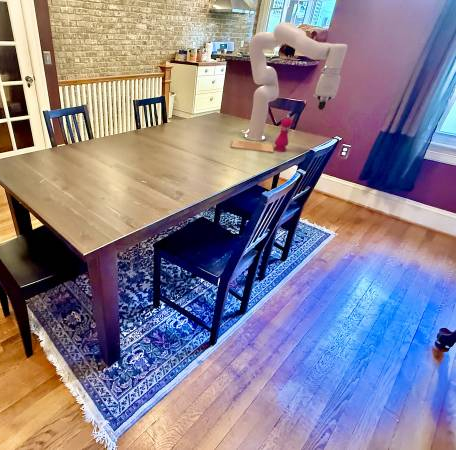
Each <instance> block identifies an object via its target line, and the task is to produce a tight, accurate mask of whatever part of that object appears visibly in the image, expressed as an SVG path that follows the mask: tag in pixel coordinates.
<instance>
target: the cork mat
mask: <svg viewBox="0 0 456 450" xmlns="http://www.w3.org/2000/svg"><path fill="white" fill-rule="evenodd" d="M231 148H232V149H240V150H247V151H248V150H249V151H256V152H265V153H272V154H273V153H274V145H273V144H270V143H263V142H262V143H261V142H253V141H243V140H236V139H233V140H232V144H231Z"/></svg>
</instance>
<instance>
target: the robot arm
mask: <svg viewBox="0 0 456 450" xmlns="http://www.w3.org/2000/svg"><path fill="white" fill-rule="evenodd" d="M281 45H287V46H289V47H291V48H293V49H294V50H295V51H297V52H298V53H299V54H301V55H303V56H304V57H306V58H308V59H311V60H314V61H318V60H321V61H322V60H326V61H325V65H324V67H323V68H321V69H320V72H321V74H320V76H319V78H318V81H317V84H316V87H315V90H314V93H313V98H316V99H317V100H318V101H319V102H318V105H317V108H318V110H319V111H323V110H324V109H325V107H326V103H328V101H330V100H335V99H336V96H337V94H338V91H339V88H340V83H341V78H342V77H341V75H340V73H341V70H342V67H343V63H344V60H345V58H346V57H345V56H346V54H347V51H348V44H346V43H331V42H320V41H317V40H315V39H312V38H311V37H309V36H307V31H305V30H304V29H301V28H299V27H297V25H296V24H295V23H293V22H290V21H289V22H288V21H287V22H286V21H281V22H279V23H278V24H277V25H276V26H275V27H274V30H273V31H271V32H270V31H268V32H267V31H261V32H257V33H256V34H255V35H253V37H251V40H250V41H249V44H248V55H249V59H250V65H251V73H252V79H253V82H254V84H256V85H262V86H259V87H258V88H257V89H256V90H255V91H254V93H253V104H252V110H251V115H250V121H249V126H248V129H247V130H241V131H240V134H242V135H245V136H244V138H245V139H247V140H249V141H252V142H253V141H254V142H263V141H265V139H266V137H265V136H264V131H265V127H266V123H267V120H268V119H267V118H268V115H269V114H268V113H269V103H272V102H274V101H277V99H278V97H279V96H280V88H279V87H280V86H279V80H278V73H277V71H276V69H275V68H274V67H273V66H268V65H267V58H266V55H265V53H264V50H272V49H275V48H277V47H280V46H281ZM323 98H324V99H323Z"/></svg>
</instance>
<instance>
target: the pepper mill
mask: <svg viewBox="0 0 456 450" xmlns="http://www.w3.org/2000/svg"><path fill="white" fill-rule="evenodd" d="M290 116H291V115H289V114H287V115H286V117H284V118H283V119H282V120H281V121H280V125H281V126H280V132H279V135H278V136H277V138H276V139H275V141H274V145H275V146H274V147H273V150H274V151H277V152H280V153H281V152H285V151H286V150H287V148H286V147H287V146H289V138H288V137H289V136H288V135H289V134H288V133H289V131H290V129H291V126H292V125H293V120H292V118H291V117H290Z"/></svg>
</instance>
